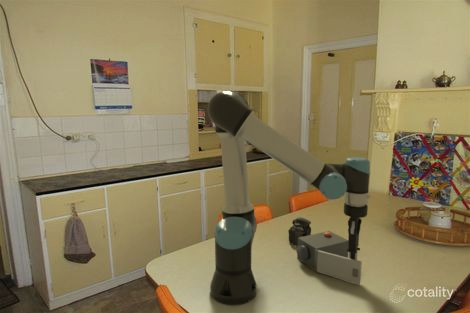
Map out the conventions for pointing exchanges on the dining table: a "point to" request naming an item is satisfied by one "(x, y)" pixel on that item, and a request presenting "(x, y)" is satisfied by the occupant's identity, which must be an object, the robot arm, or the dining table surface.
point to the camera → (299, 230)
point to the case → (320, 246)
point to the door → (338, 266)
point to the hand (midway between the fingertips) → (352, 268)
